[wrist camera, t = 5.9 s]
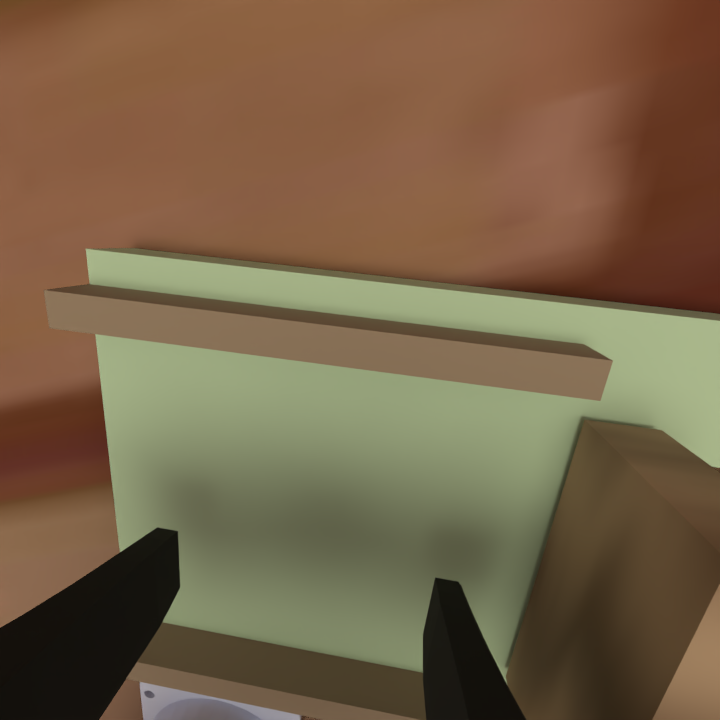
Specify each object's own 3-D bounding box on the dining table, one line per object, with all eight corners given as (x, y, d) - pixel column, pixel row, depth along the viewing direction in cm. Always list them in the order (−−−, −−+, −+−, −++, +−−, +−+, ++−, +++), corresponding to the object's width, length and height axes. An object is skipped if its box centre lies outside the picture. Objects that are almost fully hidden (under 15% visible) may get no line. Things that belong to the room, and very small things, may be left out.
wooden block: (564, 688, 13) (650, 929, 9) (505, 677, 13) (559, 908, 9) (661, 430, 10) (875, 586, 6) (584, 419, 10) (730, 563, 6)
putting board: (765, 723, 16) (863, 853, 12) (160, 607, 18) (103, 692, 14) (1003, 345, 11) (1272, 391, 7) (133, 248, 13) (38, 249, 9)
